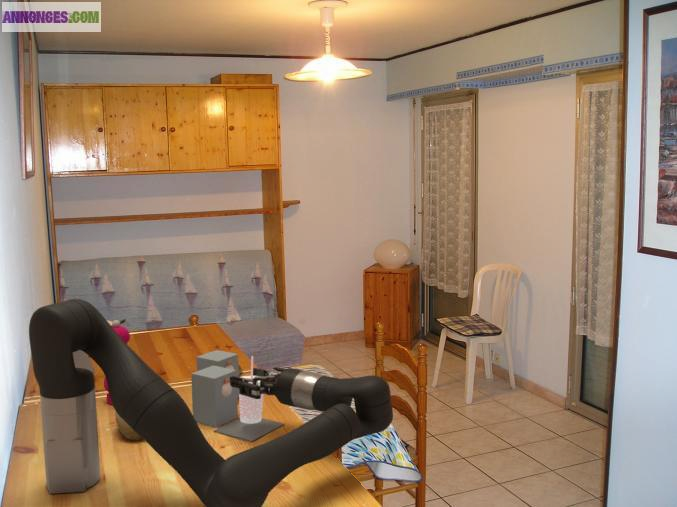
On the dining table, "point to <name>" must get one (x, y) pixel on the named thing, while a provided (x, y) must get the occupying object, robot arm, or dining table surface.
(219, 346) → the dining table surface
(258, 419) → the beverage cup
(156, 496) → the dining table surface
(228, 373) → the near cabinet dock
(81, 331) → the robot arm
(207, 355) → the far cabinet
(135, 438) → the bread roll
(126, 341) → the pepper mill
